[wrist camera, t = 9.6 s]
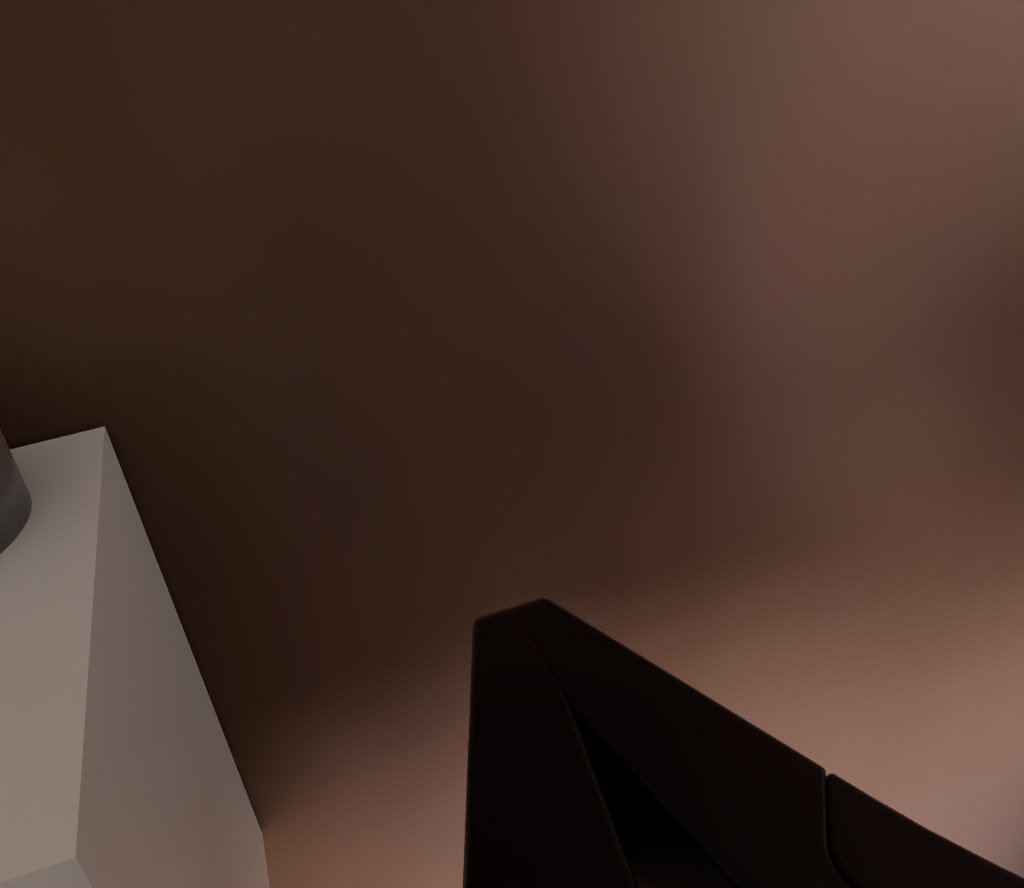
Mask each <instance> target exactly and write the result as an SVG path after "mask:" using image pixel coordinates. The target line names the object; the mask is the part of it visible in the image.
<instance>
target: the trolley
mask: <svg viewBox="0 0 1024 888" xmlns="http://www.w3.org/2000/svg"><path fill="white" fill-rule="evenodd" d="M0 888H270V887H269V879H268V871H267V864H266V856H265V848H264V841H263V834H262V832H261V829H260V827H259V824H258V821H257V819H256V816H255V814H254V811H253V808H252V806H251V803H250V801H249V798H248V795H247V793H246V790H245V788H244V785H243V783H242V780H241V777H240V775H239V772H238V770H237V767H236V764H235V762H234V759H233V757H232V754H231V751H230V749H229V746H228V744H227V741H226V739H225V736H224V733H223V731H222V728H221V726H220V723H219V720H218V718H217V715H216V713H215V710H214V707H213V705H212V702H211V700H210V697H209V695H208V692H207V689H206V687H205V684H204V682H203V679H202V676H201V674H200V671H199V669H198V666H197V664H196V661H195V658H194V656H193V653H192V651H191V648H190V645H189V643H188V640H187V638H186V635H185V632H184V630H183V627H182V625H181V622H180V620H179V617H178V614H177V612H176V609H175V607H174V604H173V601H172V599H171V596H170V594H169V591H168V588H167V586H166V583H165V581H164V578H163V576H162V573H161V570H160V568H159V565H158V563H157V560H156V557H155V555H154V552H153V550H152V547H151V545H150V542H149V539H148V537H147V534H146V532H145V529H144V526H143V524H142V521H141V519H140V516H139V513H138V511H137V508H136V506H135V503H134V501H133V498H132V495H131V493H130V490H129V488H128V485H127V482H126V480H125V477H124V475H123V472H122V469H121V467H120V464H119V462H118V459H117V457H116V454H115V451H114V449H113V446H112V444H111V441H110V438H109V436H108V433H107V431H106V428H105V426H104V427H100V428H96V429H92V430H88V431H83V432H79V433H75V434H71V435H67V436H63V437H59V438H55V439H51V440H47V441H43V442H39V443H35V444H30V445H26V446H22V447H18V448H14V449H9V447H8V445H7V442H6V440H5V438H4V436H3V434H2V431H1V429H0Z"/></svg>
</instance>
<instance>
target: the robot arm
mask: <svg viewBox="0 0 1024 888" xmlns="http://www.w3.org/2000/svg"><path fill="white" fill-rule="evenodd" d="M463 888H1024V878H1022V877H1020V876H1018V875H1016V874H1014V873H1012V872H1010V871H1008V870H1006V869H1004V868H1002V867H1000V866H998V865H996V864H994V863H992V862H990V861H988V860H986V859H984V858H982V857H980V856H978V855H976V854H975V853H973V852H971V851H969V850H967V849H965V848H963V847H961V846H959V845H957V844H955V843H953V842H951V841H950V840H948V839H946V838H944V837H942V836H940V835H938V834H936V833H934V832H932V831H930V830H928V829H926V828H925V827H923V826H921V825H919V824H918V823H916V822H914V821H912V820H911V819H909V818H907V817H906V816H904V815H902V814H900V813H899V812H897V811H895V810H894V809H892V808H890V807H888V806H887V805H885V804H883V803H881V802H880V801H878V800H876V799H875V798H873V797H871V796H869V795H868V794H866V793H864V792H863V791H861V790H860V789H858V788H856V787H855V786H853V785H851V784H850V783H848V782H846V781H845V780H843V779H842V778H840V777H838V776H837V775H835V774H833V773H831V774H829V775H827V778H826V770H825V769H824V768H823V767H821V766H820V765H818V764H816V763H815V762H813V761H812V760H810V759H808V758H807V757H805V756H803V755H802V754H800V753H799V752H797V751H795V750H794V749H792V748H790V747H789V746H787V745H786V744H784V743H782V742H781V741H779V740H777V739H776V738H774V737H772V736H771V735H769V734H768V733H766V732H764V731H763V730H761V729H759V728H758V727H756V726H755V725H753V724H751V723H750V722H748V721H746V720H745V719H743V718H742V717H740V716H738V715H737V714H735V713H733V712H732V711H730V710H728V709H727V708H725V707H724V706H722V705H720V704H719V703H717V702H715V701H714V700H712V699H711V698H709V697H707V696H706V695H704V694H702V693H701V692H699V691H698V690H696V689H694V688H693V687H691V686H689V685H688V684H686V683H684V682H683V681H681V680H680V679H678V678H676V677H675V676H673V675H671V674H670V673H668V672H667V671H665V670H663V669H662V668H660V667H658V666H657V665H655V664H653V663H652V662H650V661H649V660H647V659H645V658H644V657H642V656H640V655H639V654H637V653H636V652H634V651H632V650H631V649H629V648H627V647H626V646H624V645H623V644H621V643H619V642H618V641H616V640H614V639H613V638H611V637H609V636H608V635H606V634H605V633H603V632H601V631H600V630H598V629H596V628H595V627H593V626H592V625H590V624H588V623H587V622H585V621H583V620H582V619H580V618H579V617H577V616H575V615H574V614H572V613H570V612H569V611H567V610H565V609H564V608H562V607H561V606H559V605H557V604H556V603H554V602H552V601H551V600H549V599H545V598H539V599H536V600H532V601H529V602H526V603H523V604H520V605H516V606H513V607H511V608H508V609H504V610H501V611H497V612H494V613H491V614H488V615H485V616H481V617H479V618H477V619H476V620H475V621H474V623H473V638H472V664H471V689H470V715H469V741H468V767H467V792H466V818H465V844H464V870H463Z"/></svg>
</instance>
